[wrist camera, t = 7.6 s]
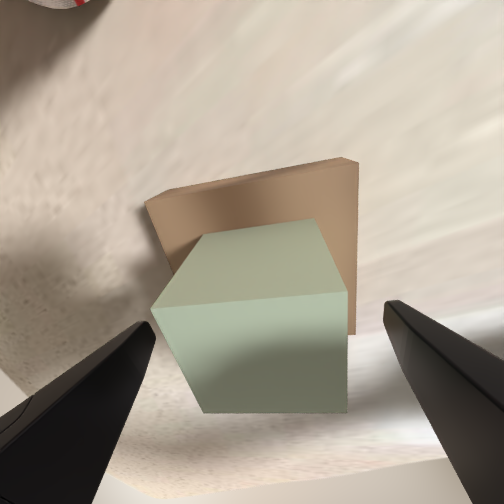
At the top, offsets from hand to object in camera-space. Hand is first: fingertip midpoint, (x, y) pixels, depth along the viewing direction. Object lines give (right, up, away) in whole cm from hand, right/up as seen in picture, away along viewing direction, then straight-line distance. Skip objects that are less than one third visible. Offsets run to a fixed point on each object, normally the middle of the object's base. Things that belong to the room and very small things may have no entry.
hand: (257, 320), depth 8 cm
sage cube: (0, +1, +3) cm, 3 cm away
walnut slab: (+1, +3, +5) cm, 6 cm away
